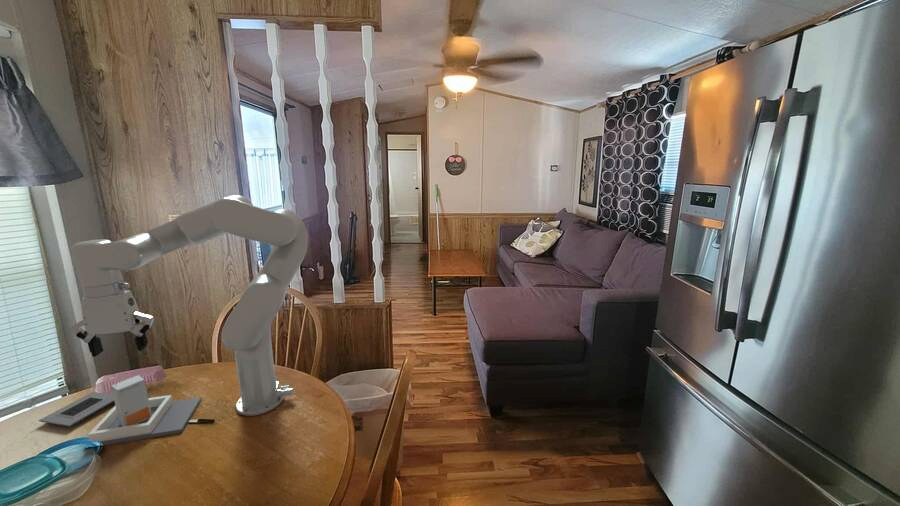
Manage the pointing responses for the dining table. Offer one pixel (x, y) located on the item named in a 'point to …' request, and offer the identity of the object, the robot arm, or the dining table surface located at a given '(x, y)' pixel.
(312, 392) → the dining table surface
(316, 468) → the dining table surface
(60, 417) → the grey slotted tray
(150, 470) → the dining table surface
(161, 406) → the holder board
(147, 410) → the skincare box
